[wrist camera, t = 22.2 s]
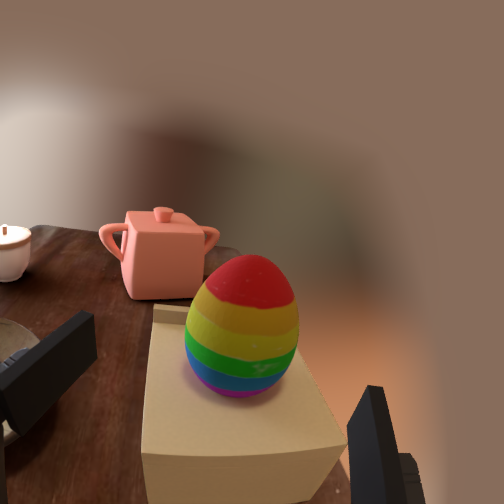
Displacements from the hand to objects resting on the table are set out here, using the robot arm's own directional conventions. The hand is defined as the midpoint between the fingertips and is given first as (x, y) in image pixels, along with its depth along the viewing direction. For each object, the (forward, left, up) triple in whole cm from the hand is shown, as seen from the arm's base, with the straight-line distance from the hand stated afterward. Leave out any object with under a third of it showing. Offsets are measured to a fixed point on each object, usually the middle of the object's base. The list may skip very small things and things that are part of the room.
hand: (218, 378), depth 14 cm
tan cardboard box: (+2, -9, -16) cm, 18 cm away
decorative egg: (+2, -9, -7) cm, 11 cm away
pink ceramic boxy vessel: (+27, -37, -16) cm, 49 cm away
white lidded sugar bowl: (+49, -17, -16) cm, 54 cm away
